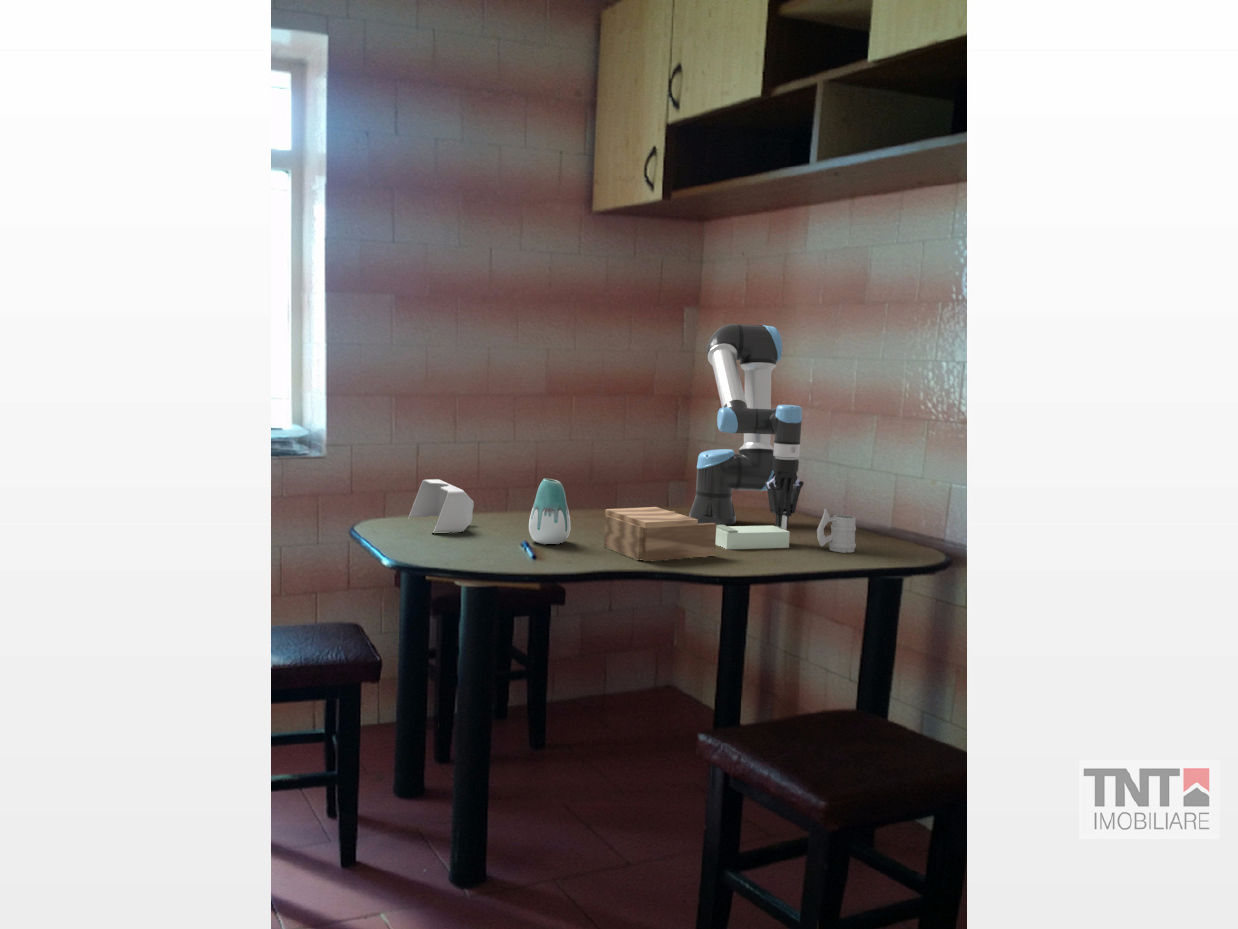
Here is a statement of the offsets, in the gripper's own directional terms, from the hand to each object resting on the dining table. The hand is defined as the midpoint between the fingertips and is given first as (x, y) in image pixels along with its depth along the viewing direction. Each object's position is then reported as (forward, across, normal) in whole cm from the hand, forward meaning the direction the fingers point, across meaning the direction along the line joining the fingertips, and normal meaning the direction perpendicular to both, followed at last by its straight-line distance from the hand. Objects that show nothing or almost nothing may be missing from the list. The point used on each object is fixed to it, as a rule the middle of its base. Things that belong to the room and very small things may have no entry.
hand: (780, 537), depth 311 cm
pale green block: (+2, -11, 0) cm, 11 cm away
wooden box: (+2, -43, 0) cm, 43 cm away
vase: (+2, -66, +21) cm, 69 cm away
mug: (+2, +9, -14) cm, 17 cm away
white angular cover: (+2, -84, +53) cm, 99 cm away
